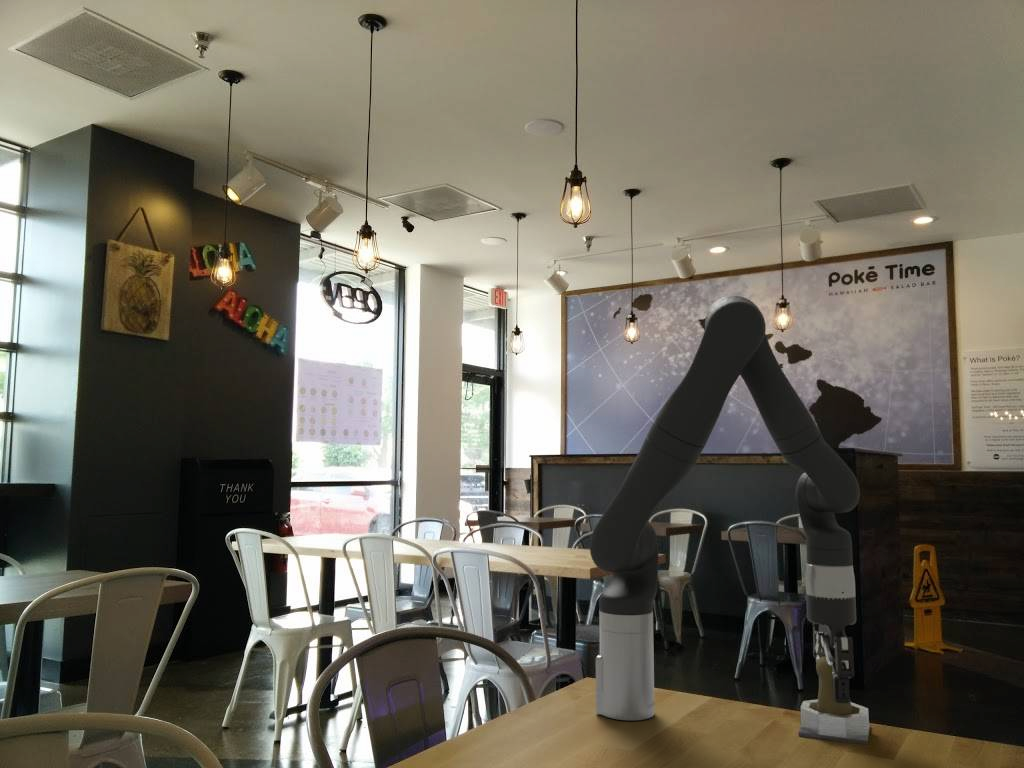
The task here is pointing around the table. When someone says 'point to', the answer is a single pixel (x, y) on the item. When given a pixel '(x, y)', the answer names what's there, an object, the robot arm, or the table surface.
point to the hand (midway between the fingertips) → (833, 695)
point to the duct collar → (835, 724)
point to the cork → (829, 691)
